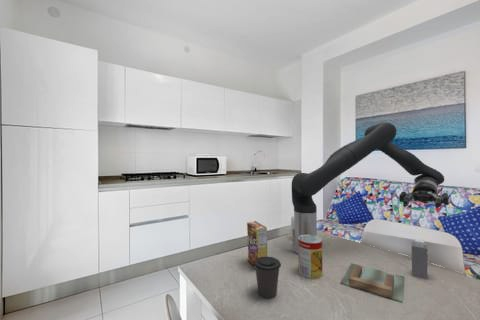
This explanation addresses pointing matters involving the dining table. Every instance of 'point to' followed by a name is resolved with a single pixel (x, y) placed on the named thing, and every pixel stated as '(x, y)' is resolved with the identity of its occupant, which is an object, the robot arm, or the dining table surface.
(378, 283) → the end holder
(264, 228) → the candy box
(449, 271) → the dining table surface
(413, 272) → the connector plug
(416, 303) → the dining table surface
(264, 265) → the coffee cup
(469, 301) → the dining table surface
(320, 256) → the canned food
